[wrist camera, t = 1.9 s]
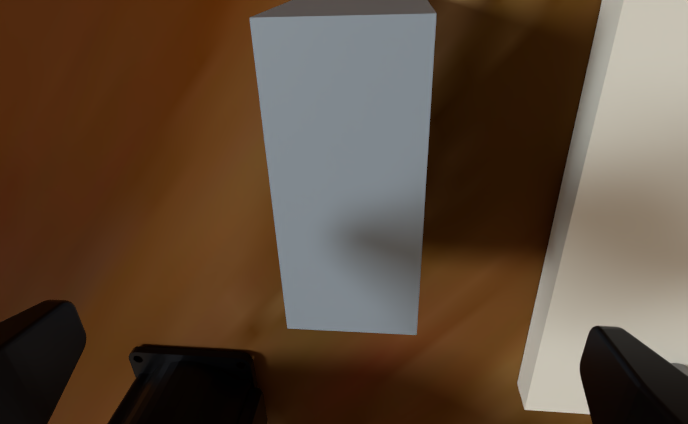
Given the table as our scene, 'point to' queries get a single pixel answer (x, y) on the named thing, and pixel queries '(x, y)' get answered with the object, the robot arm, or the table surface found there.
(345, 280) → the block
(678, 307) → the base
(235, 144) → the table surface
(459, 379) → the table surface
